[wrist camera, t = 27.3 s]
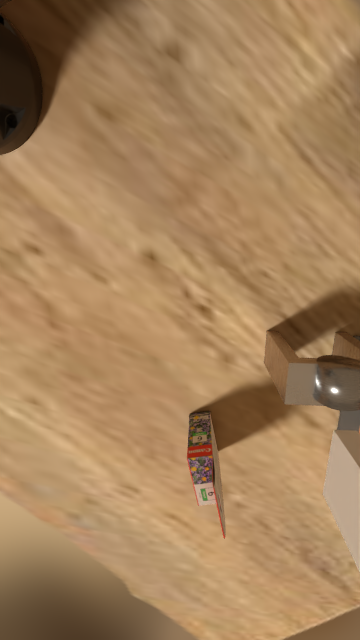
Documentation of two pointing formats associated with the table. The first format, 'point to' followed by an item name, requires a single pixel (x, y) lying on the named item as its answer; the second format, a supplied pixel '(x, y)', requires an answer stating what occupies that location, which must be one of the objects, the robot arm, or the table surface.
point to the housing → (316, 373)
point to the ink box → (205, 463)
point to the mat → (349, 416)
